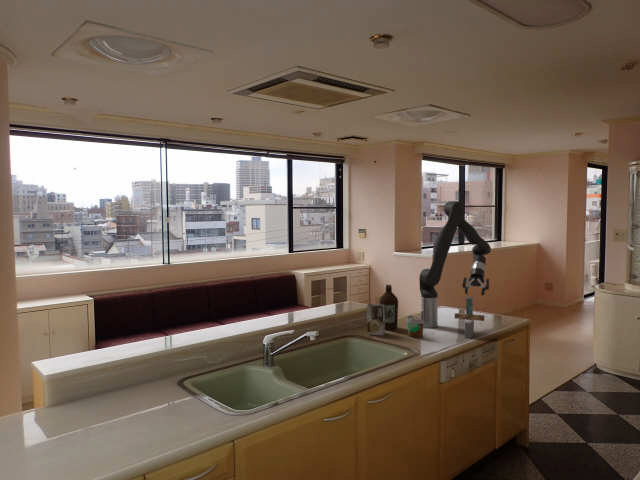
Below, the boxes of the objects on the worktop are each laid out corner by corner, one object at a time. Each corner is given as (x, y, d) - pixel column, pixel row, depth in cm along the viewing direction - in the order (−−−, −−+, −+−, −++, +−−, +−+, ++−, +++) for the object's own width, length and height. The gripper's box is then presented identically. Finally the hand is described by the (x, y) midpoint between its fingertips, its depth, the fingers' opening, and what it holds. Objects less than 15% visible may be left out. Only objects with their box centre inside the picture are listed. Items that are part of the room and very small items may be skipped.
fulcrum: (464, 337, 254) (464, 320, 253) (468, 333, 263) (468, 316, 262) (470, 338, 252) (470, 321, 252) (473, 333, 261) (473, 317, 261)
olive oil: (380, 325, 282) (380, 283, 281) (398, 326, 280) (398, 283, 279) (378, 330, 272) (378, 286, 270) (398, 331, 270) (397, 286, 268)
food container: (401, 334, 263) (401, 316, 262) (411, 333, 265) (411, 315, 264) (413, 339, 251) (413, 321, 251) (424, 338, 254) (424, 319, 253)
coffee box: (385, 332, 267) (385, 303, 266) (383, 335, 261) (383, 306, 260) (368, 331, 269) (368, 303, 268) (366, 334, 263) (366, 305, 262)
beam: (454, 318, 259) (454, 297, 258) (455, 317, 262) (455, 296, 261) (483, 321, 252) (483, 299, 251) (484, 319, 255) (484, 298, 254)
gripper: (464, 266, 279) (460, 289, 270) (490, 267, 273) (486, 291, 263) (466, 274, 284) (462, 297, 275) (491, 275, 278) (488, 299, 268)
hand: (474, 294), depth 269 cm, fingers open, 8 cm apart
